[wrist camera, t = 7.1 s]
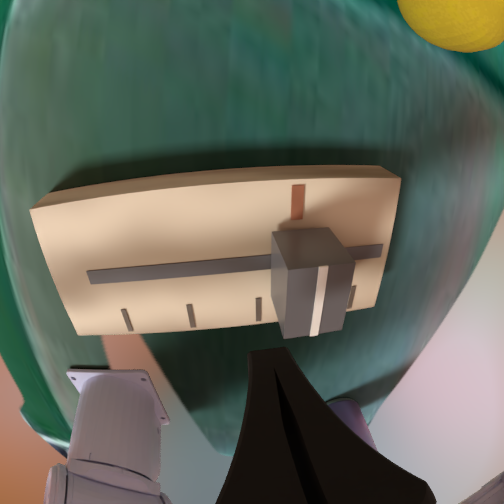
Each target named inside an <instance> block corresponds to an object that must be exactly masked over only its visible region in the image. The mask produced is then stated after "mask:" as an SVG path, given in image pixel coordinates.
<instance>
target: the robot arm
mask: <svg viewBox="0 0 504 504" xmlns="http://www.w3.org/2000/svg"><path fill="white" fill-rule="evenodd" d="M247 356H248V376H249V382H248V392H247V400H246V407H245V412H244V417H243V422H242V427H241V431H240V435H239V439H238V443H237V447H236V450H235V453H234V457H233V460H232V463H231V466H230V469H229V471H228V475H227V477H226V480H225V483H224V485H223V487H222V489H221V492H220V494H219V496H218V499H217V501H216V503H215V504H436V502H437V501H436V499H435V496H434V494H433V492H432V491H431V489H430V487H429V486H428V484H427V482H426V481H424V480H422V479H420V478H418V477H416V476H414V475H413V474H411V473H409V472H407V471H406V470H404V469H402V468H401V467H399V466H398V465H396V464H394V463H393V462H391V461H390V460H388V459H387V458H385V457H384V456H383V455H381V454H380V453H379V452H378V451H376V450H375V449H374V448H372V447H371V446H370V445H368V444H367V443H366V442H365V441H363V440H362V439H361V438H360V437H359V436H358V435H357V434H355V433H354V432H353V431H352V430H351V429H350V428H349V427H348V426H347V425H346V424H345V423H344V422H343V421H342V420H341V419H340V418H339V417H338V416H337V415H336V414H335V413H334V412H333V410H332V409H331V408H330V407H329V406H328V405H327V404H326V402H325V401H324V400H323V399H322V398H321V396H320V395H319V394H318V393H317V391H316V390H315V389H314V387H313V386H312V385H311V384H310V382H309V381H308V379H307V378H306V377H305V375H304V374H303V372H302V371H301V369H300V368H299V366H298V365H297V363H296V362H295V360H294V358H293V357H292V355H291V353H290V351H289V349H288V348H286V347H280V348H273V349H265V350H257V351H250V352H249V353H248V354H247ZM67 375H68V377H69V378H70V380H71V381H72V383H73V384H74V386H75V387H76V388H77V390H78V391H79V393H80V397H79V401H78V406H77V410H76V415H75V420H74V425H73V430H72V435H71V440H70V446H69V452H68V458H67V463H66V464H65V465H62V464H60V463H58V464H57V465H55V466H53V467H51V468H50V471H49V474H48V478H47V483H46V489H45V496H44V504H172V503H171V501H170V499H169V498H168V497H167V496H166V495H165V494H164V493H162V492H160V483H157V482H156V480H157V478H158V476H159V474H160V447H161V445H160V444H161V425H167V424H169V423H170V419H169V417H168V415H167V413H166V411H165V409H164V407H163V405H162V403H161V401H160V398H159V396H158V394H157V392H156V390H155V388H154V386H153V383H152V381H151V379H150V376H149V374H148V372H147V371H145V370H91V369H68V370H67ZM459 504H504V472H502V473H500V474H499V475H498V476H496V477H495V478H493V479H492V480H491V481H489V482H488V483H487V484H485V485H484V486H482V488H481V489H480V490H479V491H477V492H476V493H474V494H473V495H471V496H470V497H468V498H467V499H465V500H464V501H462V502H461V503H459Z"/></svg>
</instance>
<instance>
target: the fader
mask: <svg viewBox="0 0 504 504" xmlns="http://www.w3.org/2000/svg"><path fill="white" fill-rule="evenodd" d="M355 265H356V262H355V261H354V259H353V258H352V257H351V255H350V254H349V253H348V251H347V250H346V249H345V248H344V246H343V245H342V244H341V242H340V241H339V240H338V238H337V237H336V236H335V235H334V233H333V232H332V231H331V229H330V228H329V227H325V228H311V229H298V230H285V231H272V235H271V298H272V302H273V305H274V308H275V312H276V315H277V318H278V322H279V325H280V328H281V332H282V335H283V338H284V339H287V338H294V337H301V336H308V335H310V337H311V336H317V335H318V334H320V333H326V332H332V331H338V330H342V327H343V323H344V318H345V314H346V309H347V305H348V300H349V295H350V291H351V286H352V281H353V275H354V270H355Z"/></svg>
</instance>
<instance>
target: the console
mask: <svg viewBox="0 0 504 504" xmlns="http://www.w3.org/2000/svg"><path fill="white" fill-rule="evenodd" d="M400 184H401V178H400V177H398V176H396V175H395V174H393V173H391V172H390V171H388V170H386V169H384V168H383V167H381V166H373V165H299V166H270V167H250V168H234V169H220V170H208V171H197V172H186V173H176V174H167V175H159V176H150V177H142V178H135V179H128V180H121V181H114V182H107V183H101V184H95V185H89V186H83V187H77V188H72V189H66V190H61V191H56V192H51V193H48V194H47V195H46V196H44V197H43V198H42V199H41V200H40V201H39V202H37V203H36V204H35V205H34V206H33V207H32V208H31V209H30V213H31V217H32V220H33V223H34V227H35V230H36V233H37V236H38V239H39V242H40V245H41V248H42V251H43V254H44V257H45V259H46V262H47V265H48V267H49V270H50V273H51V275H52V278H53V280H54V283H55V285H56V288H57V290H58V292H59V295H60V297H61V299H62V302H63V304H64V306H65V308H66V310H67V313H68V315H69V317H70V319H71V321H72V323H73V325H74V327H75V329H76V331H77V333H78V335H113V334H114V335H115V334H141V333H160V332H175V331H189V330H202V329H213V328H224V327H234V326H244V325H253V324H262V323H270V322H278V318H277V315H276V312H275V308H274V305H273V302H272V298H271V235H272V231H285V230H298V229H311V228H325V227H329V228H330V229H331V231H332V232H333V233H334V235H335V236H336V237H337V238H338V240H339V241H340V242H341V244H342V245H343V246H344V248H345V249H346V250H347V251H348V253H349V254H350V255H351V257H352V258H353V259H354V261H355V262H356V265H355V270H354V275H353V281H352V286H351V291H350V295H349V300H348V305H347V309H346V311H352V310H358V309H364V308H369V307H374V305H375V302H376V298H377V294H378V291H379V287H380V283H381V279H382V275H383V271H384V267H385V262H386V258H387V254H388V249H389V245H390V240H391V235H392V230H393V225H394V220H395V214H396V209H397V203H398V197H399V191H400Z"/></svg>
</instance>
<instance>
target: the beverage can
mask: <svg viewBox="0 0 504 504" xmlns="http://www.w3.org/2000/svg"><path fill="white" fill-rule="evenodd" d="M326 404H327V405H328V406H329V407H330V408H331V409H332V410H333V412H334V413H335V414H336V415H337V416H338V417H339V418H340V419H341V420H342V421H343V422H344V423H345V424H346V425H347V426H348V427H349V428H350V429H351V430H352V431H353V432H354V433H355V434H357V435H358V436H359V437H360V438H361V439H362V440H363V441H365V442H366V443H367V444H368V445H370V446H371V447H372V448H374V449H375V450H376V451H377V449H376V446H375V444H374V441H373V439H372V436H371V434H370V431H369V429H368V426H367V424H366V421H365V419H364V417H363V414H362V412H361V409H360V407H359V405H358V403H357V402H356V401H354V400H353V399H350V398H338V399H334V400H331V401H328V402H326Z"/></svg>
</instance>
